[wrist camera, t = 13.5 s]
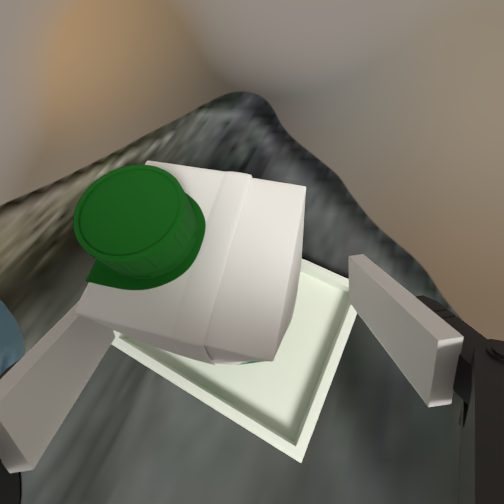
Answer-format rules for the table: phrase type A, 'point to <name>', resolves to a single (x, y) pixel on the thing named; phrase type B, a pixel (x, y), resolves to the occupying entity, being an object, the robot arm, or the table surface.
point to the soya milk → (193, 259)
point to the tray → (271, 367)
